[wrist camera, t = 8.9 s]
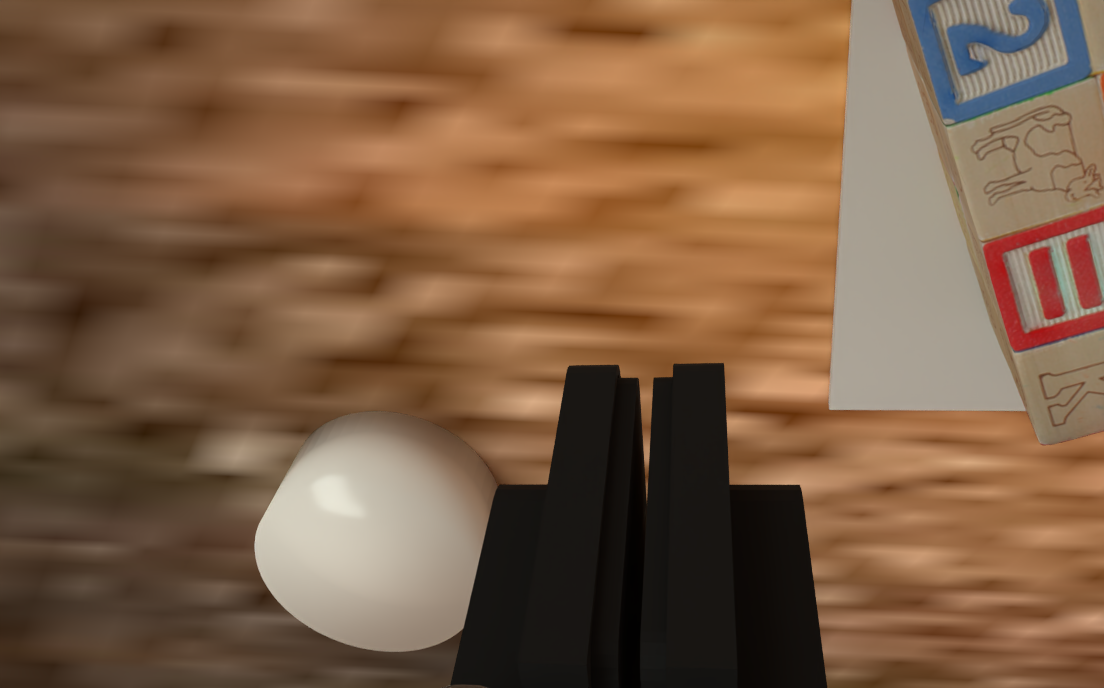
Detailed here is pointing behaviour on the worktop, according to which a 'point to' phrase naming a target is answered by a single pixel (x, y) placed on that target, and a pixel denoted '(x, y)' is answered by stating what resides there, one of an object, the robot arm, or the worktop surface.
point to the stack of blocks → (1026, 183)
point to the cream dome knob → (378, 531)
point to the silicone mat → (903, 250)
